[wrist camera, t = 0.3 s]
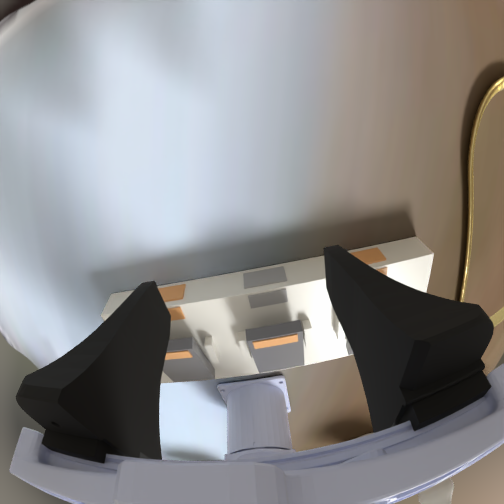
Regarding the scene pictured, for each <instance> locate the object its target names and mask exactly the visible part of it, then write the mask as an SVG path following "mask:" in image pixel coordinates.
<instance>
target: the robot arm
mask: <svg viewBox="0 0 504 504" xmlns="http://www.w3.org/2000/svg"><path fill="white" fill-rule="evenodd" d="M324 261H325V276H326V289H327V292H328V295H329V298H330V301H331V304H332V307H333V309H334V311H335V314H336V316H337V318H338V320H339V322H340V324H341V327H342V329H343V331H344V333H345V335H346V337H347V340H348V342H349V344H350V346H351V349H352V351H353V354H354V356H355V360H356V363H357V366H358V369H359V373H360V376H361V380H362V383H363V387H364V391H365V395H366V399H367V403H368V407H369V412H370V416H371V421H372V427H373V432H374V433H373V434H370V435H366V436H363V437H360V438H356V439H353V440H349V441H345V442H341V443H338V444H333V445H329V446H325V447H320V448H316V449H311V450H306V451H300V452H296V451H295V449H292V442H291V435H290V428H289V421H288V414H287V413H288V412H290V411H291V408H290V403H289V397H288V392H287V387H286V382H285V377H284V376H282V375H281V376H274V377H268V378H262V379H255V380H248V381H240V382H232V383H224V384H218V385H217V389H218V391H219V392H220V394H221V396H222V398H223V400H224V401H225V403H226V405H227V454H225V460H218V461H174V460H162V456H161V447H160V432H159V398H160V384H161V377H162V372H163V367H164V362H165V357H166V352H167V347H168V342H169V337H170V327H171V315H170V313H169V311H168V308H167V306H166V304H165V302H164V300H163V298H162V296H161V294H160V292H159V290H158V287H157V285H156V283H155V281H151V282H146V283H142V284H141V285H140V286H138V287H137V288H136V289H135V290H134V291H133V292H132V293H131V294H130V295H129V296H128V297H127V299H126V300H125V301H124V302H123V303H122V304H121V305H120V306H119V307H118V308H117V309H116V310H115V311H114V312H113V313H112V314H111V315H110V316H109V317H108V318H107V319H106V320H105V321H104V322H103V323H102V324H101V325H100V326H99V327H98V328H97V329H96V330H95V331H94V332H93V333H92V334H91V335H89V336H88V337H87V338H86V339H85V340H84V341H82V342H81V343H80V344H78V345H77V346H76V347H74V348H73V349H72V350H70V351H69V352H68V353H66V354H65V355H63V356H62V357H60V358H59V359H57V360H55V361H54V362H52V363H50V364H49V365H47V366H45V367H43V368H41V369H39V370H37V371H35V372H33V373H31V374H29V375H27V376H25V378H24V380H23V382H22V384H21V386H20V388H19V390H18V393H17V395H16V400H17V402H18V404H19V406H20V407H21V408H22V409H23V410H24V411H25V412H26V413H27V414H28V415H29V416H30V417H32V418H33V419H34V420H35V421H36V422H38V423H39V424H40V425H41V426H42V427H44V428H45V429H46V430H45V434H42V433H40V432H38V431H35V430H32V429H28V428H25V427H24V428H22V431H21V434H20V437H19V440H18V443H17V446H16V449H15V453H14V456H13V459H12V463H11V467H10V473H12V474H14V475H15V476H17V477H19V478H20V479H22V480H24V481H25V482H27V483H29V484H31V485H33V486H35V487H36V488H38V489H41V490H42V491H44V492H46V493H48V494H50V495H53V496H55V497H57V498H60V499H62V500H65V501H68V502H70V503H73V504H393V503H396V502H398V501H401V500H403V499H406V498H408V497H410V496H413V495H415V494H417V493H420V492H422V491H424V490H426V489H428V488H430V487H432V486H434V485H436V484H438V483H440V482H442V481H444V480H446V479H448V478H450V477H451V476H453V475H455V474H457V473H459V472H460V471H462V470H464V469H465V468H467V467H469V466H470V465H472V464H473V463H475V462H477V461H478V460H480V459H481V458H483V457H484V456H486V455H487V454H489V453H490V452H492V451H493V450H495V449H496V448H497V447H499V446H500V445H502V444H503V443H504V364H502V365H500V366H499V367H497V368H496V369H494V370H493V371H491V372H490V373H489V374H488V375H487V376H485V374H484V373H483V371H482V370H483V369H484V368H485V364H484V363H483V361H482V360H481V357H482V355H483V354H484V352H485V350H486V348H487V346H488V344H489V342H490V340H491V338H492V335H493V329H494V325H493V322H492V320H491V319H490V318H489V317H488V315H487V314H486V313H485V312H484V310H483V309H482V308H481V307H480V306H479V305H477V304H471V303H465V302H459V301H454V300H449V299H445V298H442V297H438V296H434V295H431V294H428V293H425V292H422V291H420V290H417V289H414V288H412V287H409V286H407V285H405V284H402V283H400V282H398V281H396V280H394V279H392V278H390V277H388V276H386V275H384V274H383V273H381V272H379V271H377V270H376V269H374V268H372V267H371V266H369V265H367V264H366V263H364V262H363V261H361V260H360V259H358V258H357V257H355V256H354V255H352V254H351V253H349V252H348V251H346V250H345V249H343V248H342V247H340V246H339V245H335V246H330V247H325V248H324Z"/></svg>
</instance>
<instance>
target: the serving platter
mask: <svg viewBox="0 0 504 504" xmlns="http://www.w3.org/2000/svg"><path fill="white" fill-rule="evenodd" d="M502 82H503V83H502ZM496 86H497V87H496ZM503 89H504V76H502V77H500V78H499V79H497V80H496V81H495V82H494V83H493V84H492V85H491V86H490V87H489V89H488V90H487V91H486V93H485V95H484V97H483V98H482V100H481V103H480V105H479V107H478V110H477V113H476V116H475V119H474V123H473V127H472V131H471V136H470V143H469V151H468V225H467V242H466V254H465V264H464V272H463V280H462V286H461V293H460V299H459V302H464V296H465V290H466V284H467V278H468V271H469V263H470V254H471V244H472V231H473V208H474V183H473V157H474V147H475V140H476V135H477V131H478V127H479V123H480V120H481V117H482V115H483V112H484V110H485V108H486V106H487V104H488V103H489V101H490V100H491V99H492V97H493V96H494V95H495V94H496V93H498V92H499V91H501V90H503ZM489 318H490V319H491V320H492V322H493V325H494V327H495V326H496V325H498V324H499V323H500V322H502V321H503V320H504V307H503V308H502V309H500V310H499V311H498V312H497V313H495V314H494V315H493V316H491V317H489Z"/></svg>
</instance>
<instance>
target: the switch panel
mask: <svg viewBox="0 0 504 504" xmlns="http://www.w3.org/2000/svg"><path fill="white" fill-rule="evenodd" d="M348 252H349V253H351V254H352V255H354V256H355V257H357V258H358V259H360V260H361V261H363V262H364V263H366V264H367V265H369V266H371V267H372V268H374V269H376V270H377V271H379V272H381V273H383V274H384V275H386V276H388V277H390V278H392V279H394V280H396V281H398V282H400V283H402V284H405V285H407V286H409V287H412V288H414V289H417V290H420V291H422V292H425V293H426V291H427V286H428V282H429V277H430V272H431V266H432V261H433V255H434V253H433V252H432V251H431V250H430V249H429V248H428V247H427V246H426V245H425V244H424V243H423V242H422V241H421V240H420V239H419V238H417V237H412V238H407V239H402V240H397V241H393V242H388V243H383V244H378V245H373V246H368V247H364V248H359V249H354V250H349V251H348ZM157 287H158V290H159V292H160V294H161V296H162V298H163V300H164V302H165V304H166V306H167V308H168V311H169V313H170V315H171V327H170V337H169V340H172V339H181V338H189V337H193V338H194V340H195V341H196V343H197V344H198V346H199V347H200V349H201V350H202V352H203V353H204V354H205V356H206V357H207V359H208V360H209V362H210V363H211V364H212V366H213V367H214V369H215V379H220V378H229V377H237V376H245V375H252V374H259V371H258V369H257V366H256V364H255V361H254V359H253V356H252V354H251V351H250V349H249V346H248V344H247V341H246V331H245V329H252V328H258V327H263V326H269V325H275V324H280V323H285V322H291V321H296V320H300V321H301V325H302V329H303V342H304V365H309V364H314V363H318V362H323V361H327V360H332V359H336V358H340V357H344V356H348V352H347V349H346V341H347V337H346V335H345V333H344V331H343V329H342V327H341V324H340V322H339V320H338V318H337V316H336V314H335V311H334V309H333V307H332V304H331V301H330V298H329V295H328V292H327V289H326V276H325V261H324V256H319V257H313V258H308V259H303V260H298V261H293V262H288V263H282V264H277V265H272V266H267V267H261V268H256V269H250V270H245V271H240V272H234V273H229V274H223V275H218V276H212V277H206V278H201V279H195V280H189V281H184V282H178V283H172V284H166V285H161V286H157ZM133 291H134V290H131V291H125V292H119V293H112V294H111V296H110V298H109V300H108V302H107V304H106V306H105V308H104V310H103V312H102V314H101V317H102V318H103V320H104V321H105V320H106V319H107V318H108V317H109V316H110V315H111V314H112V313H113V312H114V311H115V310H116V309H117V308H118V307H119V306H120V305H121V304H122V303H123V302H124V301H125V300H126V299H127V297H128V296H129V295H130V294H131V293H132V292H133ZM351 355H352V354H351ZM304 365H303V366H304ZM297 367H299V366H297ZM292 368H294V367H292ZM287 369H288V368H287ZM281 370H283V369H281ZM276 371H277V370H276ZM270 372H271V371H270ZM263 373H265V372H263ZM208 380H211V379H208ZM197 381H200V380H197ZM172 382H173V381H172V380H171V379H170V378H169V377H168V376H167V375H166V374H165V373H164V372H162V377H161V383H172ZM184 382H188V381H184Z"/></svg>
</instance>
